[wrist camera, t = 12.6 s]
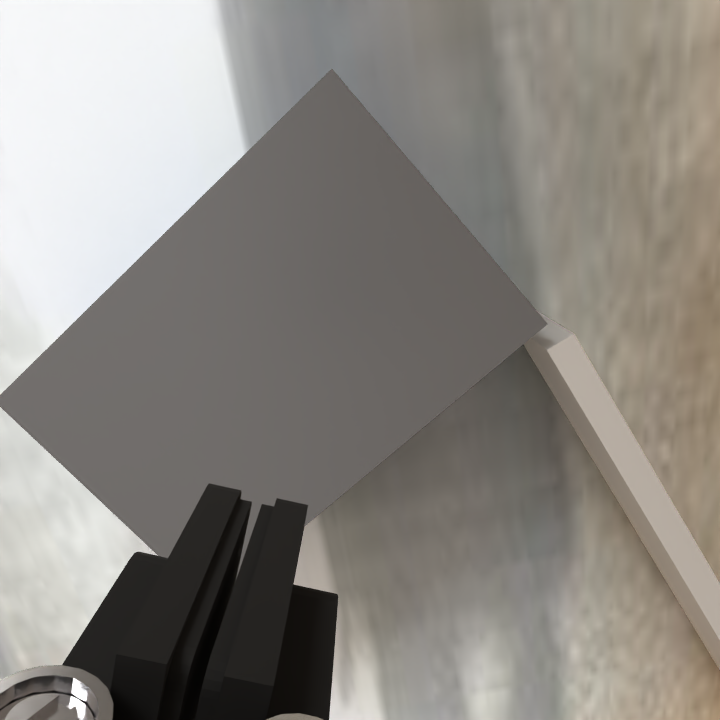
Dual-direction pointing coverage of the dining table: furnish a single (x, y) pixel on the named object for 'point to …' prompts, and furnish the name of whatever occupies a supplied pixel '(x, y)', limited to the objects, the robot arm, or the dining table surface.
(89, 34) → the dining table surface
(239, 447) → the block
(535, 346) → the door
